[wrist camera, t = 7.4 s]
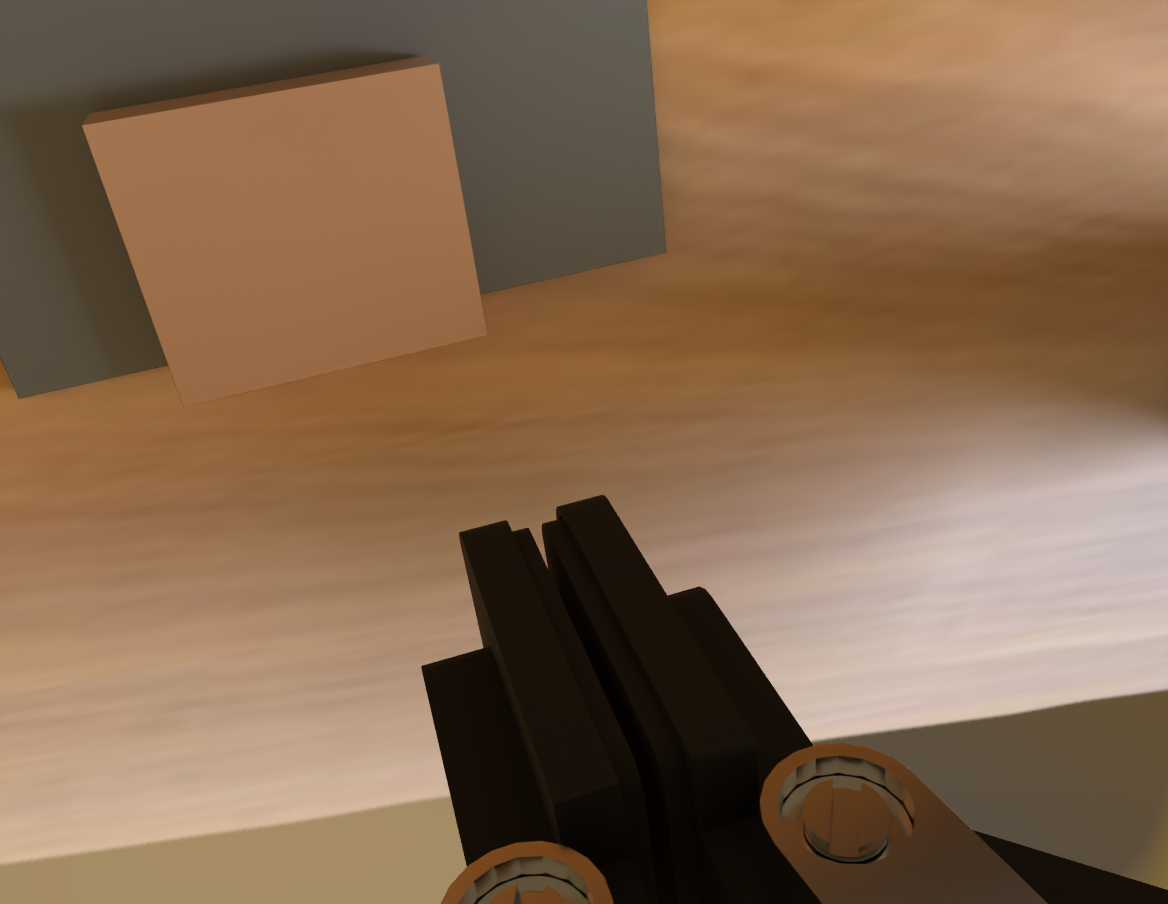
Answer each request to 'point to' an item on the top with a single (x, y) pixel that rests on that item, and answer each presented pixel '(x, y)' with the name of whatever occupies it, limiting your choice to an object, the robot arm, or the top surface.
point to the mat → (296, 49)
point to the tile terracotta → (293, 224)
